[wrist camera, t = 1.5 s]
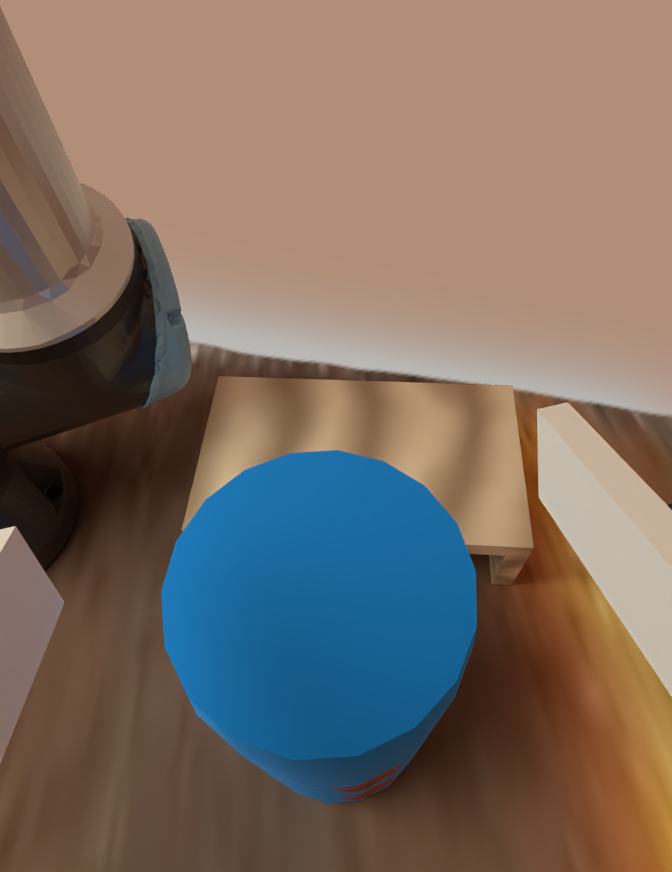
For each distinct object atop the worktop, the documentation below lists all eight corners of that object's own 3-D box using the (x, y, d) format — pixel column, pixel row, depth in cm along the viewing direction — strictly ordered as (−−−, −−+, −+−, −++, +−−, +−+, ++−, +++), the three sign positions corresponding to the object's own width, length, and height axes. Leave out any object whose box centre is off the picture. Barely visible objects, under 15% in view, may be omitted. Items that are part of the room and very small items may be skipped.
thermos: (250, 652, 42) (148, 478, 22) (392, 617, 43) (422, 420, 23) (276, 827, 36) (167, 816, 16) (440, 781, 37) (539, 715, 17)
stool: (203, 568, 46) (181, 530, 40) (233, 425, 54) (218, 376, 48) (511, 585, 44) (533, 548, 39) (495, 435, 52) (512, 385, 47)
